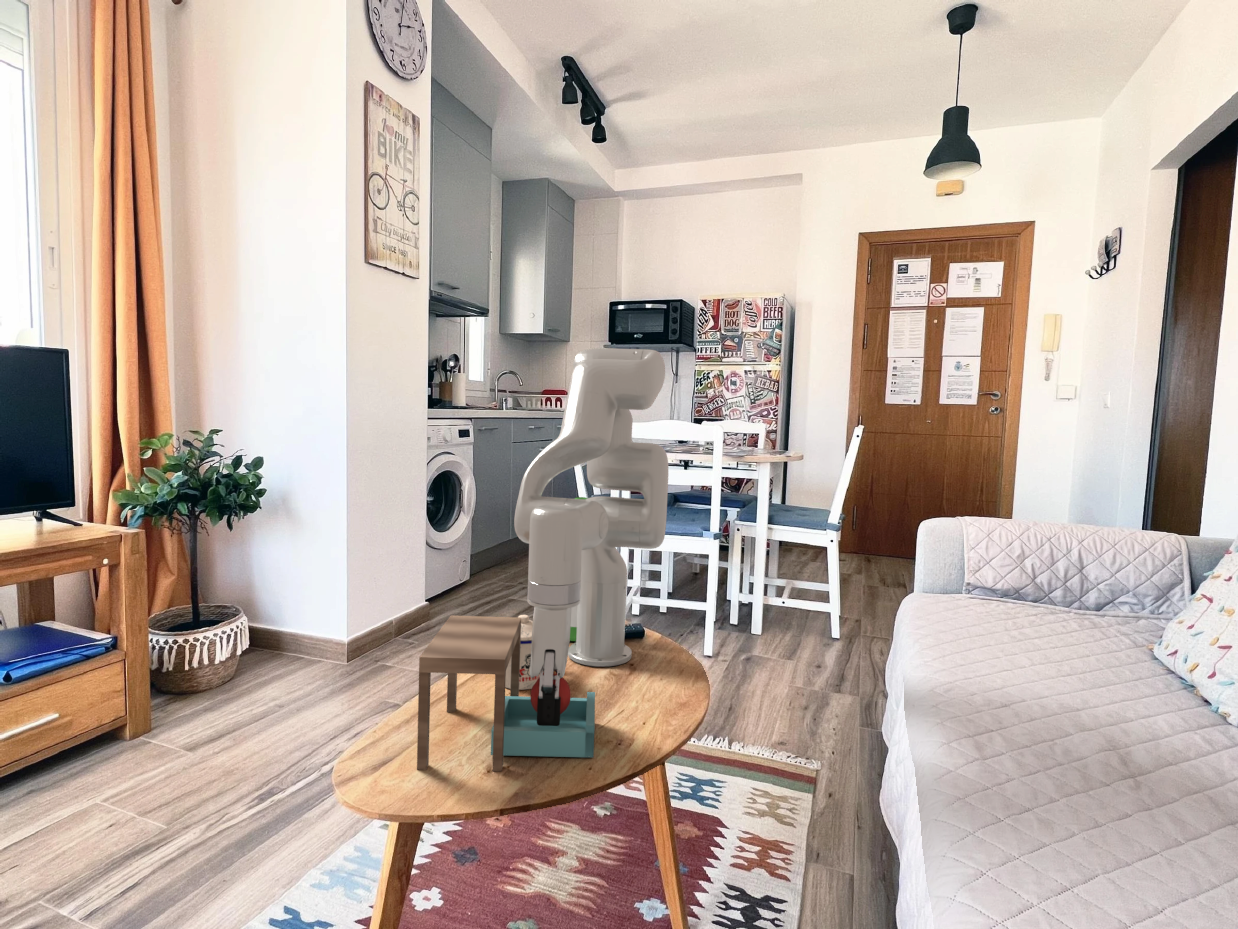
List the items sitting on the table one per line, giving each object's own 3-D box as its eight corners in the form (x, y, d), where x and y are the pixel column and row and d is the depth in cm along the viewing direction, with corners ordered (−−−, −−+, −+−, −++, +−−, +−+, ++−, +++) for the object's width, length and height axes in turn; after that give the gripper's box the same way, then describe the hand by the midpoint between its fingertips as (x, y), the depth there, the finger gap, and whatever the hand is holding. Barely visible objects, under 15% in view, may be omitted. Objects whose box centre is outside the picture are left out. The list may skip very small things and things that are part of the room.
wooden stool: (448, 708, 103) (450, 615, 102) (518, 710, 103) (521, 617, 102) (416, 769, 85) (419, 657, 84) (501, 771, 85) (505, 659, 84)
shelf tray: (502, 718, 99) (503, 689, 99) (593, 720, 100) (594, 692, 100) (490, 755, 88) (491, 723, 88) (593, 757, 89) (594, 725, 89)
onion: (521, 720, 94) (522, 666, 93) (550, 708, 98) (552, 656, 98) (549, 734, 90) (550, 678, 90) (577, 720, 95) (579, 667, 94)
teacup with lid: (522, 696, 108) (524, 627, 108) (484, 681, 114) (486, 616, 113) (568, 674, 118) (570, 612, 118) (531, 662, 123) (533, 602, 123)
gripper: (533, 576, 101) (530, 688, 103) (520, 608, 84) (516, 743, 85) (581, 577, 102) (577, 690, 103) (578, 610, 84) (573, 744, 86)
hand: (550, 712), depth 94 cm, fingers closed on onion, 5 cm apart
